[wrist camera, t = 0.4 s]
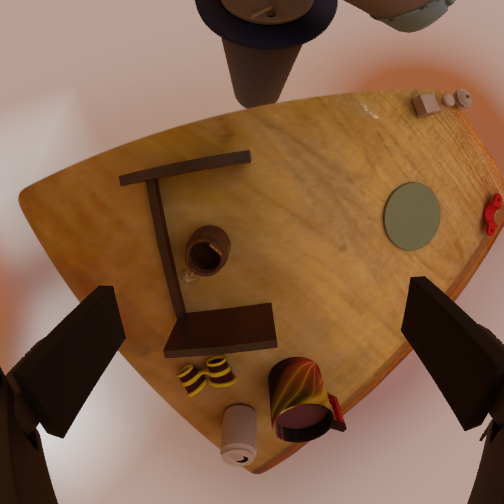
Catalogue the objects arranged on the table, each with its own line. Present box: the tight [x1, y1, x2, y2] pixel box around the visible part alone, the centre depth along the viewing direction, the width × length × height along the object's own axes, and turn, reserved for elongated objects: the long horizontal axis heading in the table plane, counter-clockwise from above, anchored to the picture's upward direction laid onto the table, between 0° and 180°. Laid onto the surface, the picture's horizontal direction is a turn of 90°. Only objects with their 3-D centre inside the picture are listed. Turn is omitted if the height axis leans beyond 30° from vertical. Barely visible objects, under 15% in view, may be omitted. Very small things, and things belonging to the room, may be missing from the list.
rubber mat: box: [383, 182, 440, 250], centre depth 44 cm, size 11×11×1 cm
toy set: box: [411, 89, 472, 118], centre depth 37 cm, size 12×3×4 cm, turn 110°
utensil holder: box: [181, 226, 230, 285], centre depth 39 cm, size 6×6×12 cm
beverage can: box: [220, 405, 257, 466], centre depth 49 cm, size 6×6×12 cm
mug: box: [268, 357, 346, 443], centre depth 46 cm, size 10×14×12 cm
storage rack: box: [119, 150, 278, 358], centre depth 40 cm, size 15×24×11 cm, turn 8°
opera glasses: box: [177, 355, 237, 397], centre depth 49 cm, size 10×5×5 cm, turn 114°
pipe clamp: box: [483, 193, 502, 236], centre depth 43 cm, size 8×3×2 cm, turn 169°
